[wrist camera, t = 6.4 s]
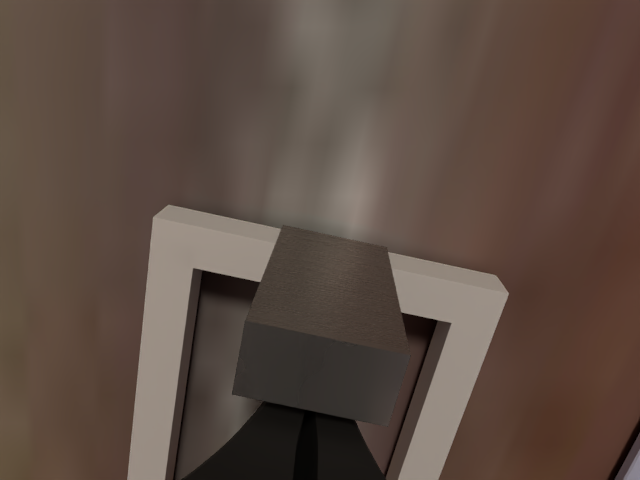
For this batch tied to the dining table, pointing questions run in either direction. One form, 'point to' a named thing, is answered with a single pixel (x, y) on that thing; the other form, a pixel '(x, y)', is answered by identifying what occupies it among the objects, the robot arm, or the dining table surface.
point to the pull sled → (312, 333)
